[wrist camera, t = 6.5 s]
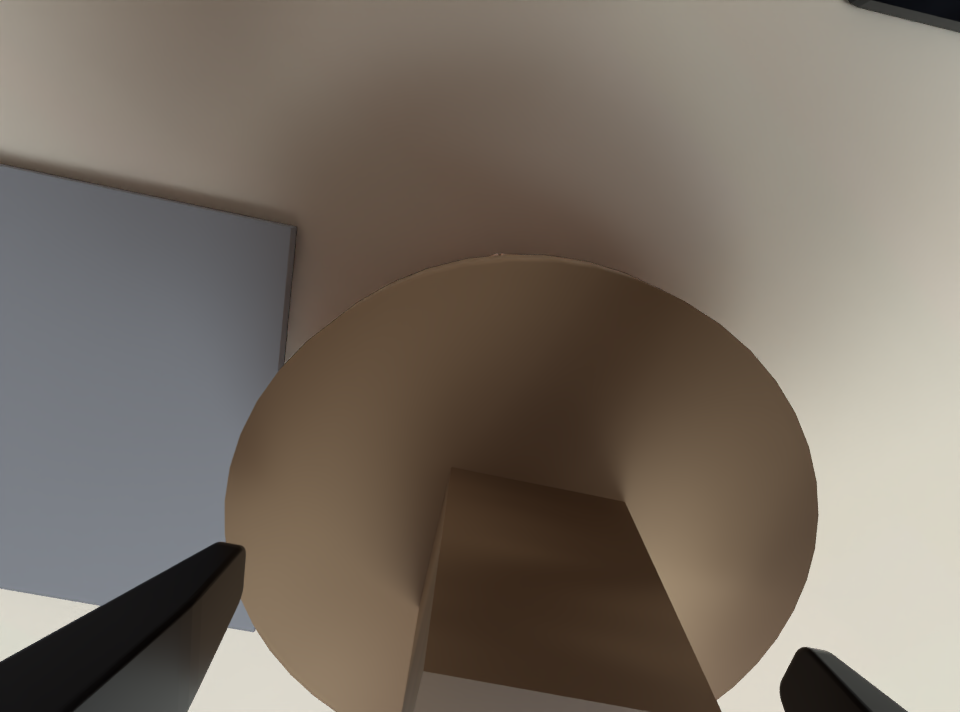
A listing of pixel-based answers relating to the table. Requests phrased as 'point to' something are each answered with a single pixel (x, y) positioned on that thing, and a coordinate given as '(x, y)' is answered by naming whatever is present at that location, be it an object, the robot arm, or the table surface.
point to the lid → (522, 498)
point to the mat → (126, 378)
